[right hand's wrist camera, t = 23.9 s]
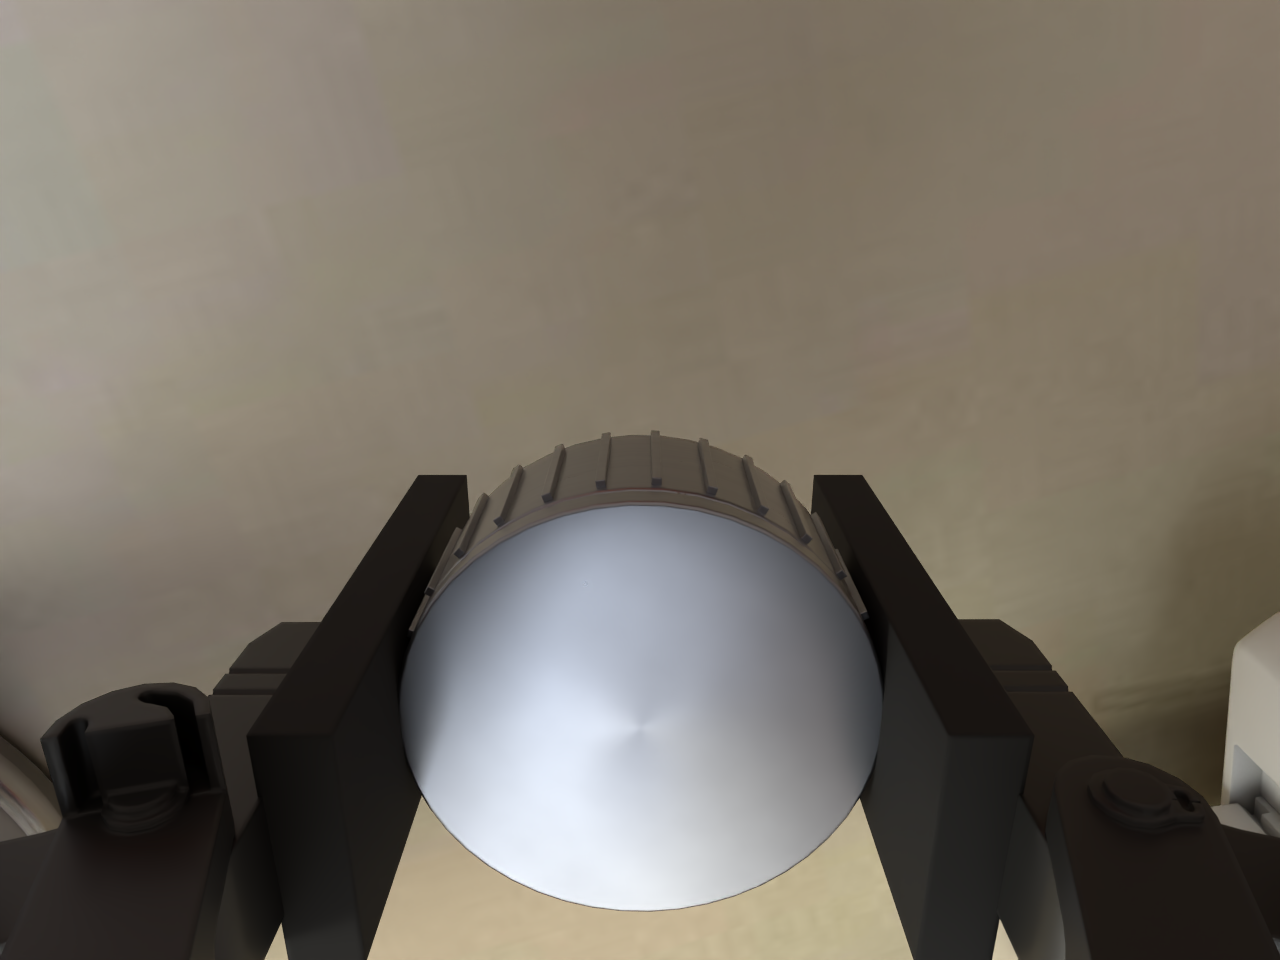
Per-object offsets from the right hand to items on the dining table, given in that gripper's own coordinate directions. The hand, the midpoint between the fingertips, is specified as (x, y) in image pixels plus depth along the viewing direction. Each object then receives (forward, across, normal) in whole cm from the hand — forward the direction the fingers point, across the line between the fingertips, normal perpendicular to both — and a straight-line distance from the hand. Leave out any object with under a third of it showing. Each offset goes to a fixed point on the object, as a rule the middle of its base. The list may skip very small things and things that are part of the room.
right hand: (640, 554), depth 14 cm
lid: (-4, 0, 0) cm, 4 cm away
